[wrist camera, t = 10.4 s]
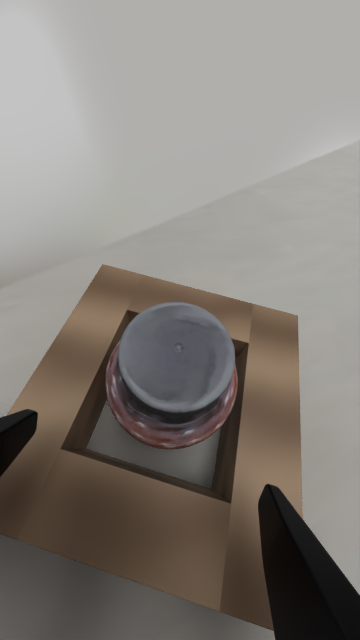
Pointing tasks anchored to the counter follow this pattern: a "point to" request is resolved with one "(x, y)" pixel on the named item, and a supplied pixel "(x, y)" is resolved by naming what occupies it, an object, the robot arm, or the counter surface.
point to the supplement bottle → (172, 376)
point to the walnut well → (147, 485)
